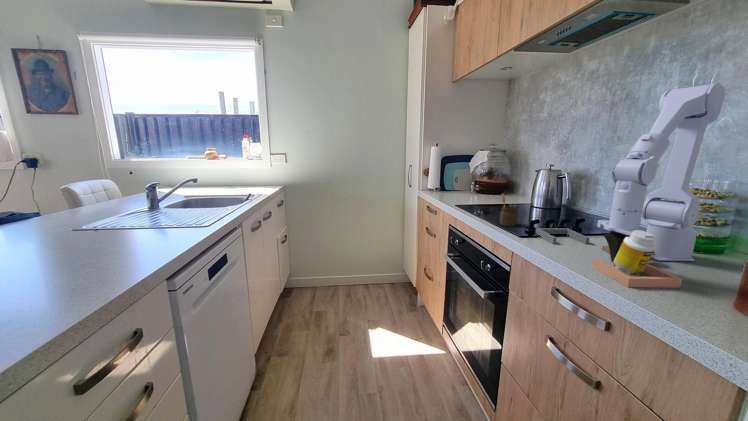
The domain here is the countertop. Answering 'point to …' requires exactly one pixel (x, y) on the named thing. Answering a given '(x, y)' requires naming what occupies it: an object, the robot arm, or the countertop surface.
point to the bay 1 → (547, 231)
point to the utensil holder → (508, 214)
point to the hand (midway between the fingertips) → (617, 262)
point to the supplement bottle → (634, 253)
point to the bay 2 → (657, 279)
